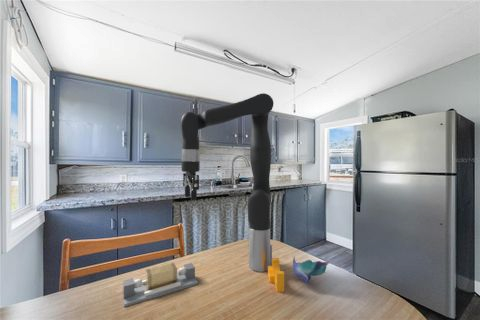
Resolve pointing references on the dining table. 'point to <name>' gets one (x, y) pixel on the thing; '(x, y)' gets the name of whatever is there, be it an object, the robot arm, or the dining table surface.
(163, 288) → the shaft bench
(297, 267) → the figurine
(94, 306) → the dining table surface
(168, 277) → the tan tapered block
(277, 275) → the pipe clamp
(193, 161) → the robot arm
